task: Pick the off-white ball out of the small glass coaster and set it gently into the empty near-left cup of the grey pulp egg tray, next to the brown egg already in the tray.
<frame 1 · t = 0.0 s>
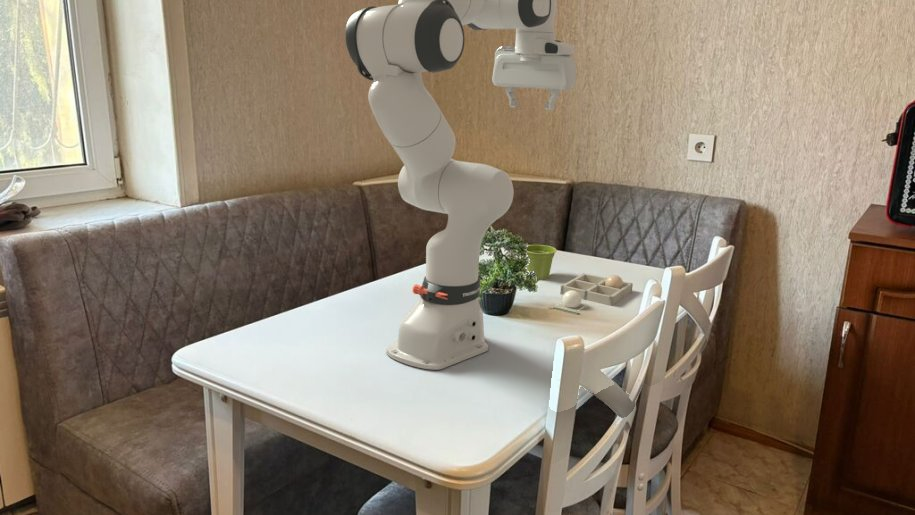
hand: (531, 108, 160), 48 cm above the table, tool pointing down, fingers open, 8 cm apart
brown egg: (613, 292, 180), point 1 cm above the table, touching egg tray
off-white ball: (571, 308, 170), resting in glass coaster
egg tray: (596, 295, 180), on the table
plant pot: (537, 279, 193), on the table
glass coaster: (571, 308, 170), on the table
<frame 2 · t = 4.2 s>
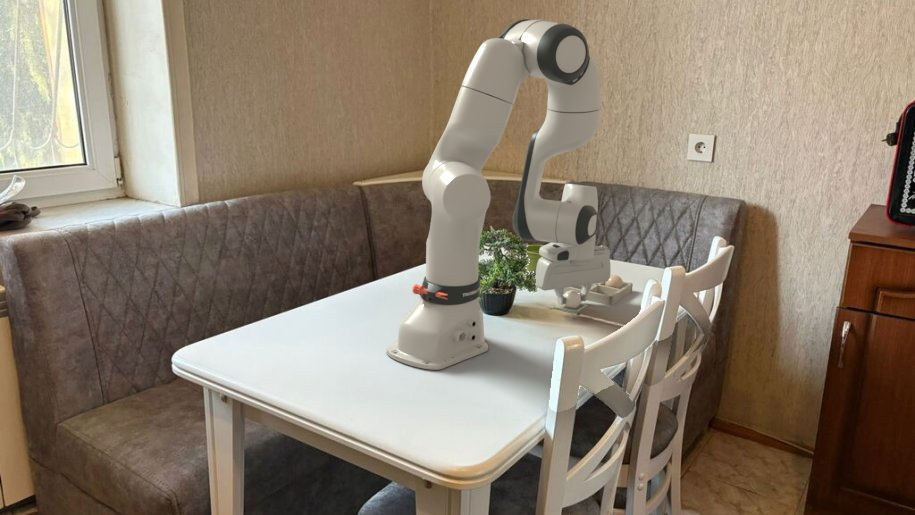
hand: (571, 302, 170), 2 cm above the table, tool pointing down, fingers closed on off-white ball, 5 cm apart
off-white ball: (571, 308, 170), resting in glass coaster, touching gripper
everything else where it was.
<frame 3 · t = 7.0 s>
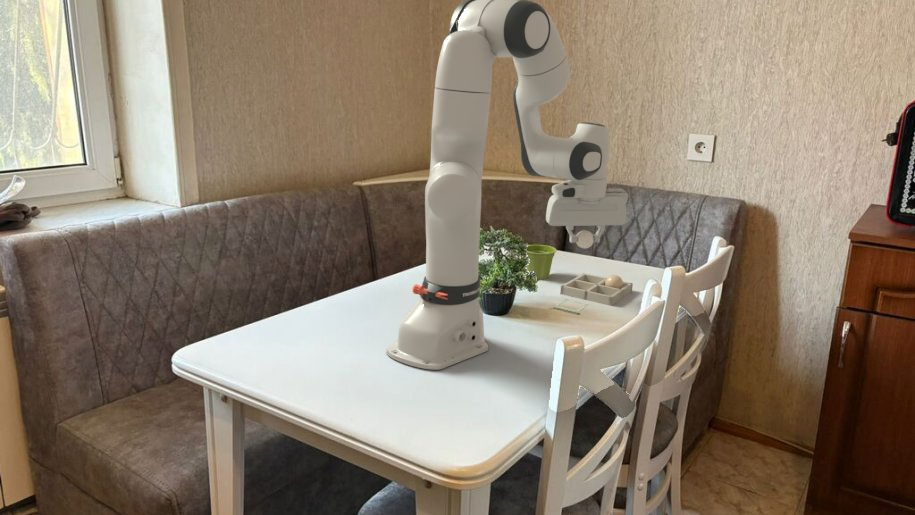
hand: (584, 242, 175), 15 cm above the table, tool pointing down, fingers closed on off-white ball, 5 cm apart
off-white ball: (584, 248, 175), point 13 cm above the table, touching gripper
everything else where it was.
when the fingers open (4 cm above the table, at t = 9.6 s): off-white ball drops 1 cm, resting on egg tray.
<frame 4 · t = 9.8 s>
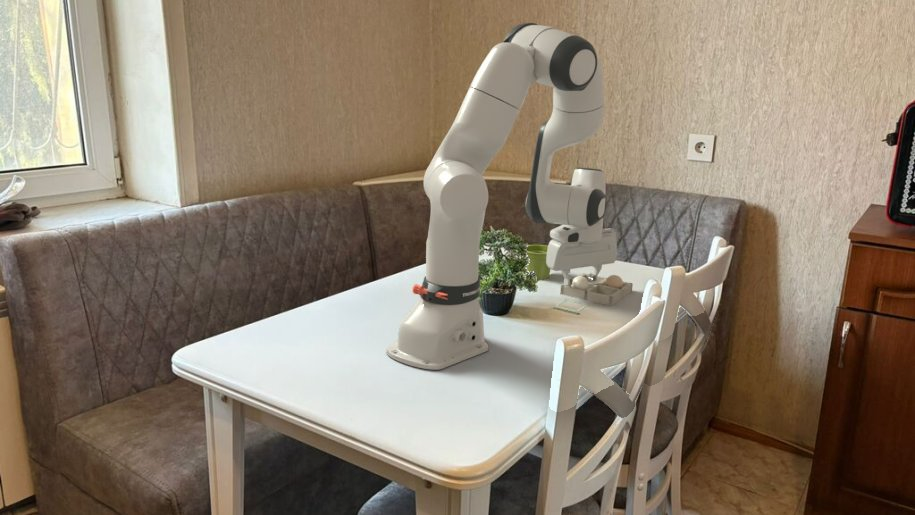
hand: (580, 282, 178), 4 cm above the table, tool pointing down, fingers open, 6 cm apart
off-white ball: (579, 293, 179), point 1 cm above the table, touching egg tray
everything else where it was.
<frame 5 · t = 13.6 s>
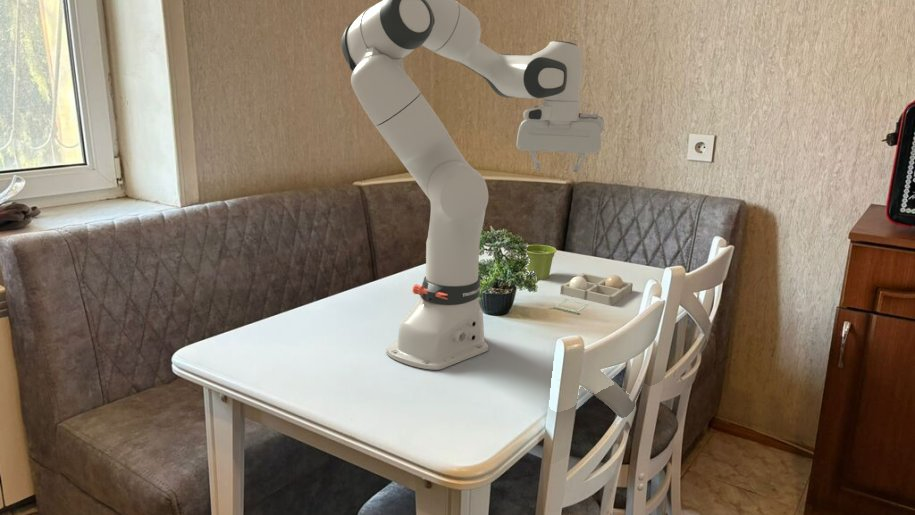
hand: (556, 170, 167), 33 cm above the table, tool pointing down, fingers open, 8 cm apart
off-white ball: (579, 292, 179), point 1 cm above the table, tilted 16°, touching egg tray
everything else where it was.
at the end: off-white ball 0.0 cm from the target spot on the egg tray, point 0.9 cm above the egg tray's base; the gripper is holding nothing; brown egg moved 0.0 cm from its start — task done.
